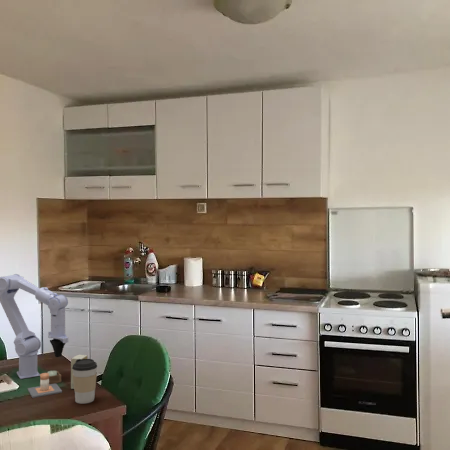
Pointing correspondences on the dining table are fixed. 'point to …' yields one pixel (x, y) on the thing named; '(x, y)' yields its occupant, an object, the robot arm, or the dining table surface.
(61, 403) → the dining table surface
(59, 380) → the button housing
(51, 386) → the grey square plate
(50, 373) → the button
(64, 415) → the dining table surface
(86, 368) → the coffee cup
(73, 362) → the skincare box
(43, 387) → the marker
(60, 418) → the dining table surface
